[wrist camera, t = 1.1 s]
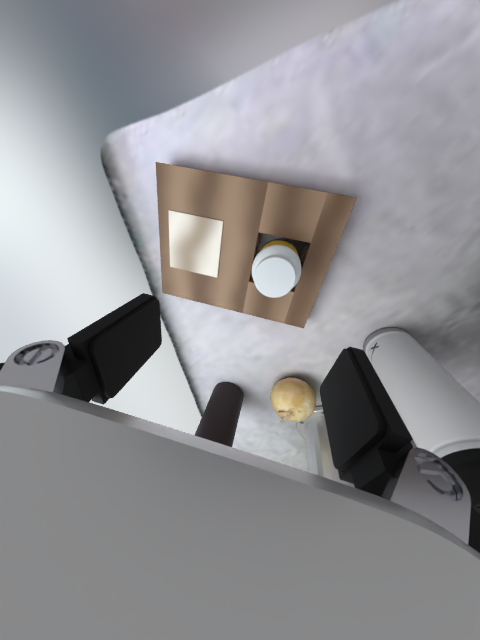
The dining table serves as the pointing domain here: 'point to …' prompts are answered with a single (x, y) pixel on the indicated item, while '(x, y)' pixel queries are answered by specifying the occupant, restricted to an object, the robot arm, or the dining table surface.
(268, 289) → the supplement bottle
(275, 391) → the onion
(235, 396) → the vinegar
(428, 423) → the travel mug
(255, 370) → the dining table surface
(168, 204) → the socket board
